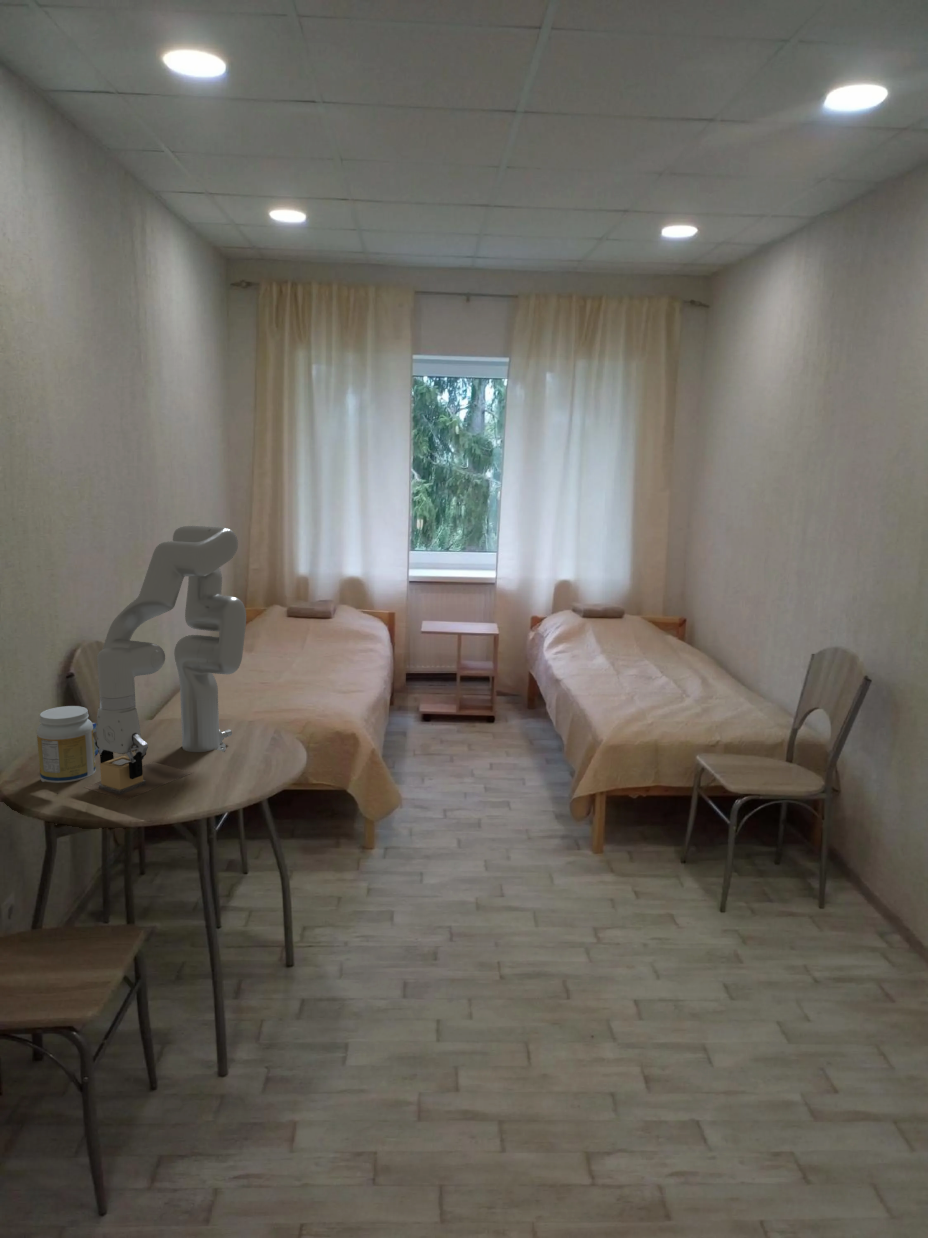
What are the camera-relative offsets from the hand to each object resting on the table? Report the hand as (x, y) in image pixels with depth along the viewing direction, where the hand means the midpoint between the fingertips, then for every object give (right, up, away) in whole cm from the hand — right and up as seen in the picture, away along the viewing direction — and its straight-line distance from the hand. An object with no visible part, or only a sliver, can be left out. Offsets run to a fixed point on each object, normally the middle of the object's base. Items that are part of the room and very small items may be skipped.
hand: (121, 773), depth 191 cm
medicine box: (-20, -1, +23) cm, 30 cm away
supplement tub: (-16, -3, +8) cm, 19 cm away
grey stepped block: (0, -3, +1) cm, 3 cm away
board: (+2, -4, +5) cm, 7 cm away
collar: (0, -2, 0) cm, 2 cm away
